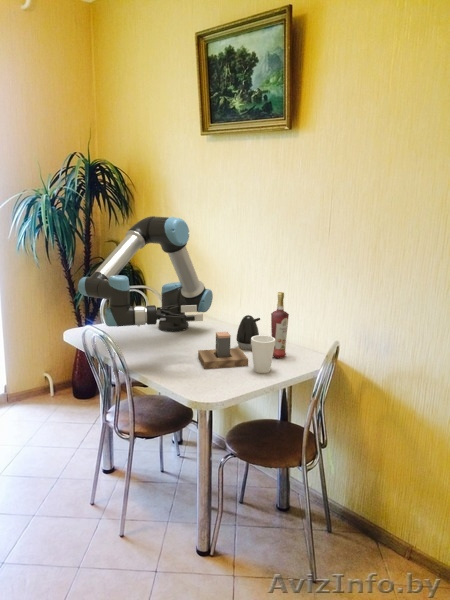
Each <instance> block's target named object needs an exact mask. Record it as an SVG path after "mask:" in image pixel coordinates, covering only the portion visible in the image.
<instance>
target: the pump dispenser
mask: <svg viewBox="0 0 450 600" xmlns="http://www.w3.org/2000/svg"><path fill="white" fill-rule="evenodd" d="M258 321H261V318H260V317H257V318H255V317H253V316H252V315H249V314H247V315H245V316H243V317H242V319H241V321H240V323H239V325H238V329H237V333H236V342H237V344H238V346H239V348H240V349H241V350H246V351H247V350H248V351H250V350H251V351H252V345H251V338H252V337H253V336H258V335H260V334H259V328H258V324H257V322H258Z"/></svg>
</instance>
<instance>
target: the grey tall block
mask: <svg viewBox="0 0 450 600" xmlns="http://www.w3.org/2000/svg"><path fill="white" fill-rule="evenodd" d="M231 337H232V336H231V334H230V333H229V332H228V331H220V332H218V331H216V332H215V349H216V357H217V358H222V357H230V348H231Z"/></svg>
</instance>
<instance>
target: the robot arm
mask: <svg viewBox="0 0 450 600" xmlns="http://www.w3.org/2000/svg"><path fill="white" fill-rule="evenodd" d="M189 232H190V229H189V226H188V224H187V222H186V221H185V220H184V219H183V218H180V217H175V216H171V217H168V216H167V217H166V216H154V215H152V216H147V217H144V218H142V219H141V220H139V221H137V222H136V223H135V224H133V225H132V226H131V227H130V228H129V229H128V230H127V231H126V233H125V234H124V235H125V237H124V238H123V240H121V241H120V243H119V244H118V245H117V246H116V247H115V248H114V250H113V251H112V252H111V253H110V254H109V255H108V256H107V257H106V258H105V260H104V261H103V262H102V263H101V264H100V265H99V266H98V268H97V269H96V270H95V271H94V272H93V273H92V274H91V275H90V276H83V277H81V278H80V279H79V280H78V284H77V289H78V292H79V293H80V294H81V295H82V296H85V297H89V298H96V299H97V298H98V299H104V300H109V306H108V307H104V308H105V309H104V319H105V321H104V322H105V325H106V326H107V327H117V328H118V327H129V326H131V327H132V326H136V327H140V326H145V325H148V326H151V325H157V321H158V330H161V331H164V332H167V333H169V332H170V333H171V332H172V333H175V332H183V331H186V330H188V329H189V322H203V321H204V314H203V313H207V312H208V311H209V310H210V308H211V305H212V304H213V303H212V302H213V296H214V294H213V291H212V290H211V288H210V289H209V288H206V286H205V283H203V281H201V280H199V277H198V275H197V272H196V269H195V267H194V264H193V261H192V259H191V256H190V254H189V251H188V249H187V245H188V241H189V240H190V234H189ZM148 244H157V245H158V244H159V245H160V247H161V249H162V251H163V253H166V254H168V257H169V259H170V261H171V264H172V266H173V269H174V271H175V274H176V276H177V278H178V282H177V281H175V282H169V283H165V284H163V285H162V286H161V307H160V306H159V307H158V306H157V307H156V305H155V304H153V305H146V306H145V305H132V306H131V300H130V298H131V297H130V296H131V295H130V293H131V292H130V289H131V288H130V287H131V286H130V281H129V277H128V276H127V275H122V274H121V275H119V274H120V272H121V271H122V270H123V269H124V268H125V266H126V265H127V264H128V263H129V262H130V260H132V258H133V257H134V256H135V255H136V253H137V252H138V251H139V250H141V249H143V248H145V247H146V245H148ZM188 313H189V314H188Z"/></svg>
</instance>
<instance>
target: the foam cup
mask: <svg viewBox="0 0 450 600" xmlns="http://www.w3.org/2000/svg"><path fill="white" fill-rule="evenodd" d="M251 345H252V349H251V352H252V362H253V364H252V365H253V371H254V372H255V373H258V374H267V373H270V371H271V368H272V361H273V358H274V357H273V352H274V346H275V338H273V337H271V336H270V335H265V334H263V335H262V334H261V335H260V334H259V335H258V336H253V337H252V338H251Z"/></svg>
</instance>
